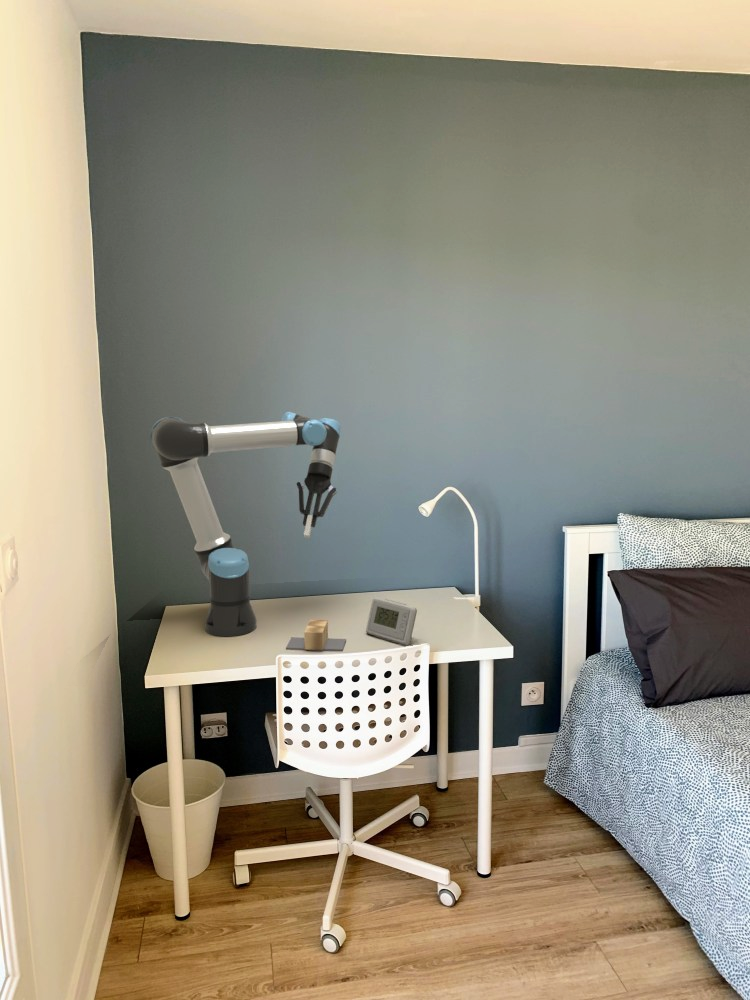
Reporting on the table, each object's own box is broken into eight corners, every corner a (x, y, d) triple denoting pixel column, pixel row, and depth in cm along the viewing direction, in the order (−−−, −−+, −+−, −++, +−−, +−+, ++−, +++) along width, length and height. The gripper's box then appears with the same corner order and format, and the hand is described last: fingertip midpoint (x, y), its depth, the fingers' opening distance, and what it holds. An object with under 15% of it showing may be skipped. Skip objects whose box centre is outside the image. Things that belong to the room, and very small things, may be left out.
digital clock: (362, 633, 228) (362, 599, 226) (386, 626, 234) (386, 593, 232) (398, 649, 216) (398, 613, 214) (422, 642, 222) (422, 606, 219)
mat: (285, 649, 216) (285, 647, 216) (291, 638, 224) (291, 637, 224) (342, 651, 215) (342, 649, 215) (346, 640, 223) (346, 638, 223)
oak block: (310, 636, 225) (304, 649, 215) (310, 619, 224) (304, 632, 214) (327, 636, 224) (322, 649, 215) (327, 620, 224) (322, 632, 214)
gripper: (342, 473, 248) (328, 542, 240) (302, 467, 249) (287, 536, 241) (340, 464, 241) (326, 536, 233) (299, 458, 242) (284, 529, 234)
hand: (306, 536), depth 237 cm, fingers closed
